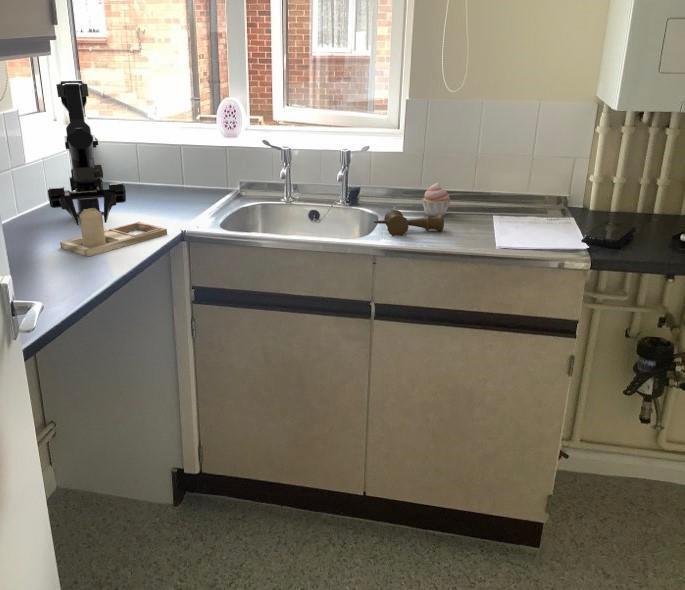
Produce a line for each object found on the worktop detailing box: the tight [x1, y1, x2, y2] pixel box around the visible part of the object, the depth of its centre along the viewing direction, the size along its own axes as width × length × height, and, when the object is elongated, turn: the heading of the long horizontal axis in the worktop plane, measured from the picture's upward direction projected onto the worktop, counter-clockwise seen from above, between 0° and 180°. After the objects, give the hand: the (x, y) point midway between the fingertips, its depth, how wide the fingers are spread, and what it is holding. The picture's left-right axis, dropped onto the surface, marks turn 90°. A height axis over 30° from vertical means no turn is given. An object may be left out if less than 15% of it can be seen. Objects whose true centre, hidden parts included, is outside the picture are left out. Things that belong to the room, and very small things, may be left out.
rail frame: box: [59, 221, 168, 257], centre depth 179 cm, size 12×25×2 cm, turn 144°
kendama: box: [373, 209, 445, 237], centre depth 189 cm, size 6×10×20 cm
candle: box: [78, 208, 107, 248], centre depth 172 cm, size 6×6×10 cm
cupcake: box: [420, 182, 452, 217], centre depth 206 cm, size 9×9×10 cm
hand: (91, 223), depth 171 cm, fingers open, 6 cm apart
